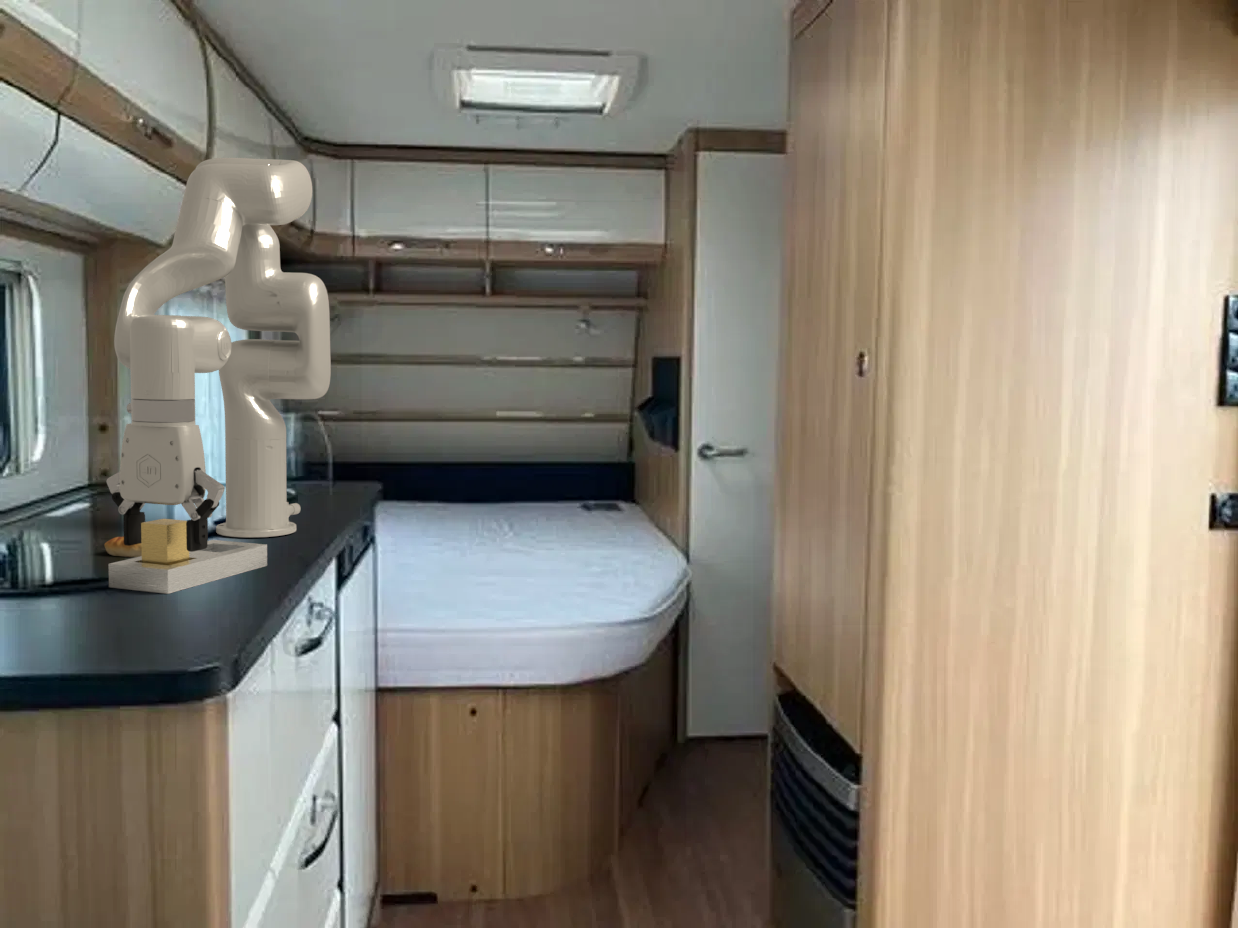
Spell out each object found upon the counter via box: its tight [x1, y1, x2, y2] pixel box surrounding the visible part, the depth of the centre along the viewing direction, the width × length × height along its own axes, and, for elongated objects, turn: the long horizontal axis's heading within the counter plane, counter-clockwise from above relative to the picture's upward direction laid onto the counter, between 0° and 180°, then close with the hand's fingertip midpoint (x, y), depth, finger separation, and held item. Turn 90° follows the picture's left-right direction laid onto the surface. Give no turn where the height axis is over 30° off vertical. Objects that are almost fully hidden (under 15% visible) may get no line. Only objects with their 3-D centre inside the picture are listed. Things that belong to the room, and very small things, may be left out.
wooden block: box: [141, 518, 189, 565], centre depth 142 cm, size 4×4×8 cm
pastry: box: [103, 535, 142, 558], centre depth 162 cm, size 9×7×4 cm
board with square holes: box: [108, 539, 268, 595], centre depth 147 cm, size 20×9×3 cm, turn 162°
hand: (165, 546), depth 142 cm, fingers open, 9 cm apart
